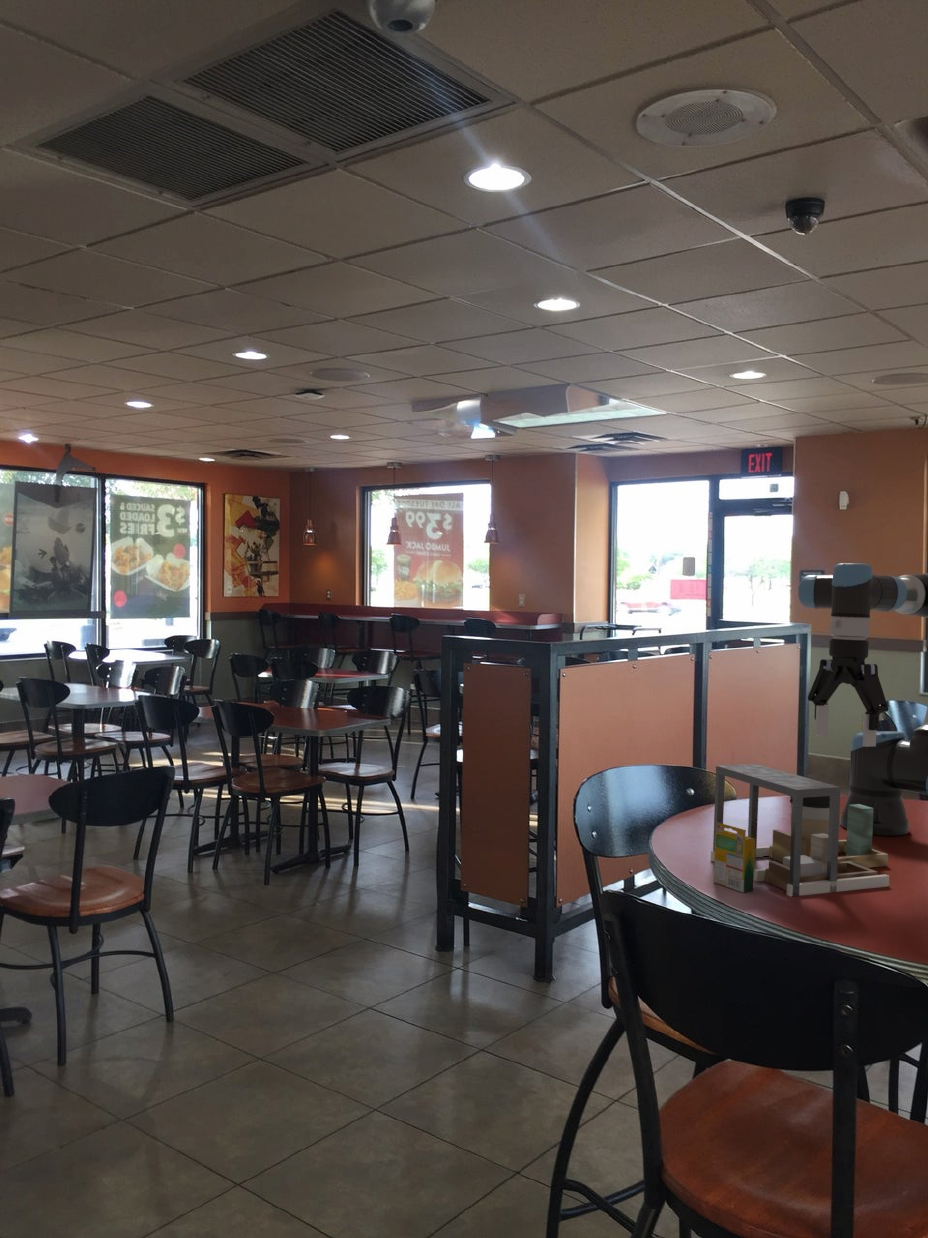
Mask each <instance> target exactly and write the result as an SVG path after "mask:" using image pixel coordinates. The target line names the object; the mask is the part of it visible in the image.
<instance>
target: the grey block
mask: <svg viewBox="0 0 928 1238" xmlns="http://www.w3.org/2000/svg"><path fill="white" fill-rule="evenodd" d="M782 865H785V866H787V867H790V856H789V857H783V863H782ZM822 869H823V862H821V861H819V860H816V859H813V858H811V857H808V856H806V855H801V862H800V877H811V876H821V875H822Z"/></svg>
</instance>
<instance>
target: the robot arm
mask: <svg viewBox="0 0 928 1238" xmlns="http://www.w3.org/2000/svg"><path fill="white" fill-rule="evenodd" d="M797 596H798V599H799V602H800V603H801V605H802V606H803V607H805V608H811V609H815V610H816V609H821V610H822V609H823V610H824V609H825V610H827V609H828V610H830V609H831V613H830V630H829V631H830V633H829V635H830V636H832V638H831V639H830V640H829V647H828V648H829V650H828V652H829V653H828V654H829V656H830V657H831V659H828V658H827V659H820V661H819V668H818V671H817V674H816V676H815V678H814V681H813V683H812V685H811V688H810V691H809V693H808V695H807V700H808V701H809V702H812V703H813V705H814V720H815V726H814V727H815V730H814V736H815V737H828V734H829V733H828V732H829V718H830V717H829V714H830V713H829V712H830V706H829V703H828V702H829V700H830V698H832V696H833V695H834V693H835V692H836V690H837V689H838V687H839V686H840V685H841V684H845V685H850V686H851V687H853V688H854V690H855V691H856V693H857V696H858V697H859V699H860V700H861V702H862V705H863V706H864V708H865V710H866V711H865V712H864V713H863V726H862V727H863V728H862V732H858V733H855V734H854V735H853V737H851V738H852V739H851V744H850V745H851V746H850V750H849V753H850V760H849V761H850V763H849V764H850V765H849V791H848V796H847V799H846V801H845V805H844V809H843V811H842V812H840V813H841V814H840V815H839V826H841V827H842V828H843V829H846V830H847V818H848V805H853V804H861V805H864V806H867V807H871V808H873V831H872V835H876V836H886V837H887V836H889V837H890V836H893V837H894V836H903V835H907V834H908V833H909V832H910V820H909V818H907V812H906V808H905V805H904V804H905V803H904V801H903V791H906V792H911V793H916V794H922V795H927V796H928V706H927V708H926V711H925V716H924V719H923V723H922V724H921V726H919V727H917V728H914V729H913V732H912V736H911V738H910V739H907V738H906V734H905V732H903V731H895V730H894V731H893V730H891V731H889V730H888V731H886V730H885V731H884V730H883V731H878V730H879V726H880V725H879V724H880V716H881V715H880V714H883V713H888V711H889V706H888V703H887V700H886V697H885V694H884V691H883V687H882V684H881V681H880V678H879V667H878V664H877V663H866V662H865V660H866V659H867V658H868V657H869V644H870V643H869V640H867V638H869V637H870V627H871V626H870V624H871V622H870V621H871V611H878V612H880V611H881V612H892V611H895V612H896V613H898V614H900V615H908V616H911V615H912V616H916V617H923V618H927V619H928V572H926V573H919V574H918V573H917V574H903V575H900V576H898V577H897V576H892V575H890V574H887V575H885V574H883V575H882V574H873V567H872V565H870V564H868V563H856V562H855V563H854V562H851V563H849V562H848V563H846V562H844V563H843V562H842V563H837V564H835V566H834V567H833V571H832V574H819V573H818V574H808V575H805V576H804V577H803V578H802V579H801V580H800V581H799V585H798V594H797Z"/></svg>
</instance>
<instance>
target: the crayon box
mask: <svg viewBox="0 0 928 1238" xmlns="http://www.w3.org/2000/svg"><path fill="white" fill-rule="evenodd" d="M725 829H728V830H725ZM729 829H731V830H732V831H734V832H732V831H729ZM746 831H747V830H746V829H742V828H739V827H735V826H733V825H732V826H731V825H730V824H729V825H728V824H725V823H723V824H722V823H718V822H716V840H715V862H714V865H713V866H714V867H713V883H714V884H717V885H721V886H723V887H727V888H729V889H732V890H735V891H738V892H740V893H743V894H744V893H748V892H752V891H754V881H755V880H754V870H755V859H756V858H755V839H754V838H750V837H748V835H746ZM735 832H736V833H735Z"/></svg>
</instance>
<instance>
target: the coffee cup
mask: <svg viewBox="0 0 928 1238" xmlns="http://www.w3.org/2000/svg"><path fill="white" fill-rule="evenodd" d="M789 797H790V799H789V803H790V827H791V826H792V801H793V797H791V796H789ZM829 807H830V796H821V797H805V798H803V811H802V837H801V838H803V839H806V840H808V841H811V834H823V833H824V834H827V835H828V832H829Z"/></svg>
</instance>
